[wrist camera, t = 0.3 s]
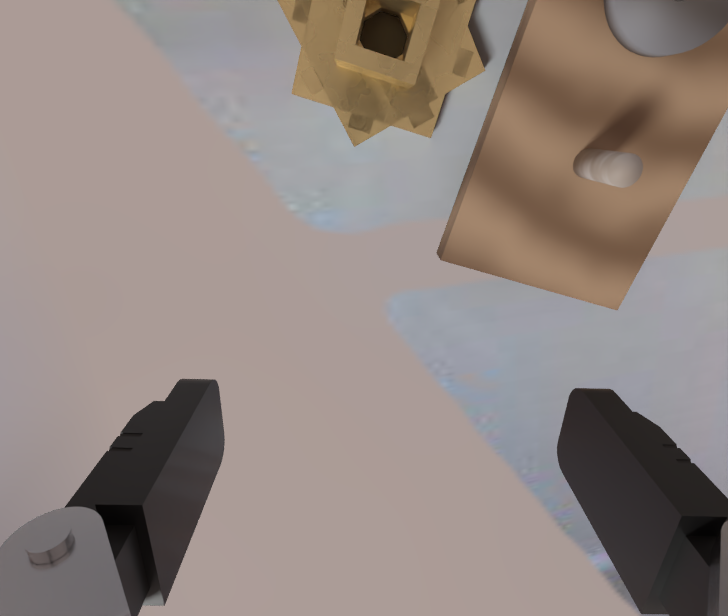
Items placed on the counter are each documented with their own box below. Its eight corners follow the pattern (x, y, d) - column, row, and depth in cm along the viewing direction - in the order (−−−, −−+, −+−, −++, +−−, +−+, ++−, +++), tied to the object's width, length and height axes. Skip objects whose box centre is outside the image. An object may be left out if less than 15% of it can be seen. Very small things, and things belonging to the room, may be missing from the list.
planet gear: (305, -130, 27) (294, -181, 23) (522, -48, 29) (553, -80, 24) (258, 116, 32) (242, 115, 28) (445, 174, 34) (459, 182, 29)
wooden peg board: (585, -157, 27) (657, -244, 20) (799, -68, 29) (928, -122, 22) (436, 252, 36) (453, 281, 30) (604, 301, 38) (655, 338, 32)
